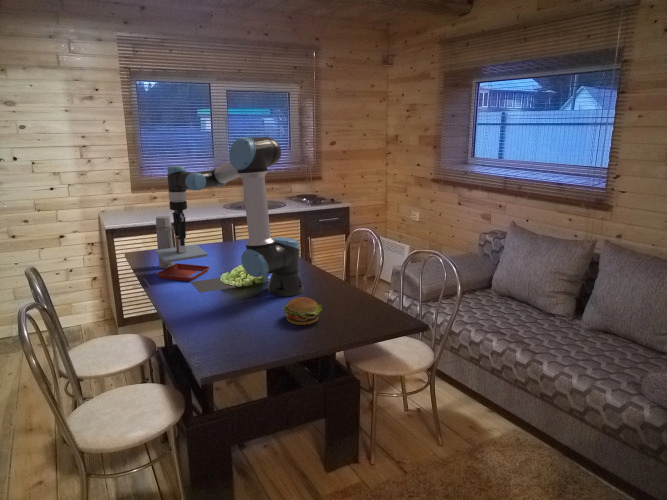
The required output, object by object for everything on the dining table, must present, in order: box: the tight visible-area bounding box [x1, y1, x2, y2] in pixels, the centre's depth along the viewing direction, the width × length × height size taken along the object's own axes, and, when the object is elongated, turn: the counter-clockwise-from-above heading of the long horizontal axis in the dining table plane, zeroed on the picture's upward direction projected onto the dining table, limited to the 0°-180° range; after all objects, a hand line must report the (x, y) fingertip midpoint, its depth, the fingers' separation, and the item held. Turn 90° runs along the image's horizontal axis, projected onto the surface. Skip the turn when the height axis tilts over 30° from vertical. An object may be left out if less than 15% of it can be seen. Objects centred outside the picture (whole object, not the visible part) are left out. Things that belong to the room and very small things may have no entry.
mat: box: [189, 277, 236, 294], centre depth 222 cm, size 16×16×1 cm
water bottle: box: [155, 215, 175, 270], centre depth 244 cm, size 9×8×25 cm
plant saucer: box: [156, 263, 211, 282], centre depth 234 cm, size 18×18×3 cm
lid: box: [155, 236, 209, 263], centre depth 232 cm, size 19×19×8 cm
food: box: [282, 296, 324, 326], centre depth 185 cm, size 14×14×8 cm
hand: (180, 250), depth 232 cm, fingers closed on lid, 4 cm apart
